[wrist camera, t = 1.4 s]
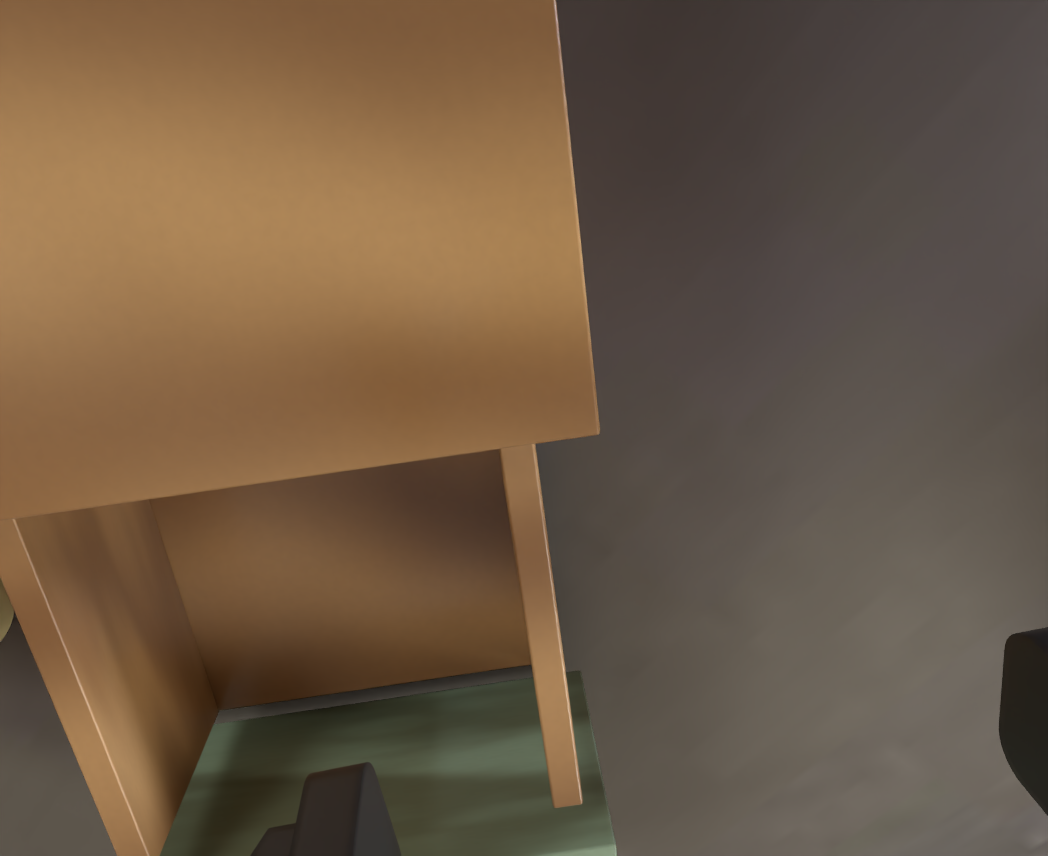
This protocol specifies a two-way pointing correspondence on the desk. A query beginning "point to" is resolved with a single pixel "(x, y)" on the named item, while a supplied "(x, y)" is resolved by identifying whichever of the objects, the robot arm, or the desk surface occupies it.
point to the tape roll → (5, 612)
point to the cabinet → (280, 242)
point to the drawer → (316, 657)
